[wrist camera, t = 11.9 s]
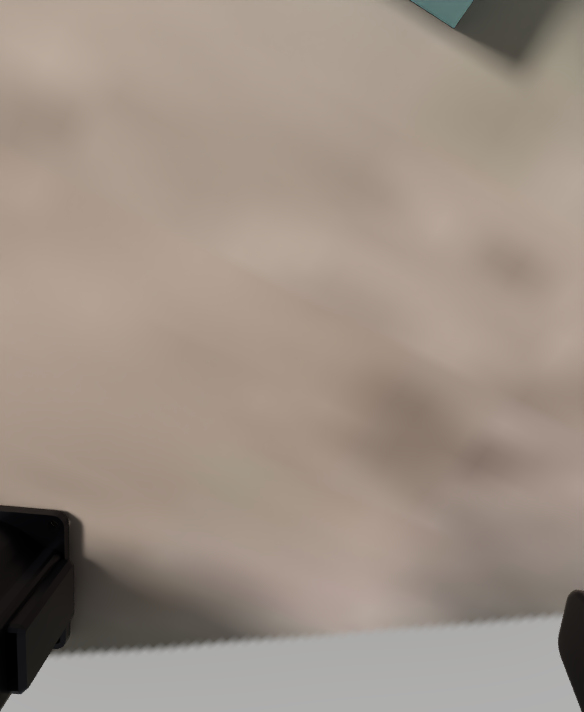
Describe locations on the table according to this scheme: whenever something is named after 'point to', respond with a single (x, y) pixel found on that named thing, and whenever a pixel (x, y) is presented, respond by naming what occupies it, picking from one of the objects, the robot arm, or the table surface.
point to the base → (445, 9)
